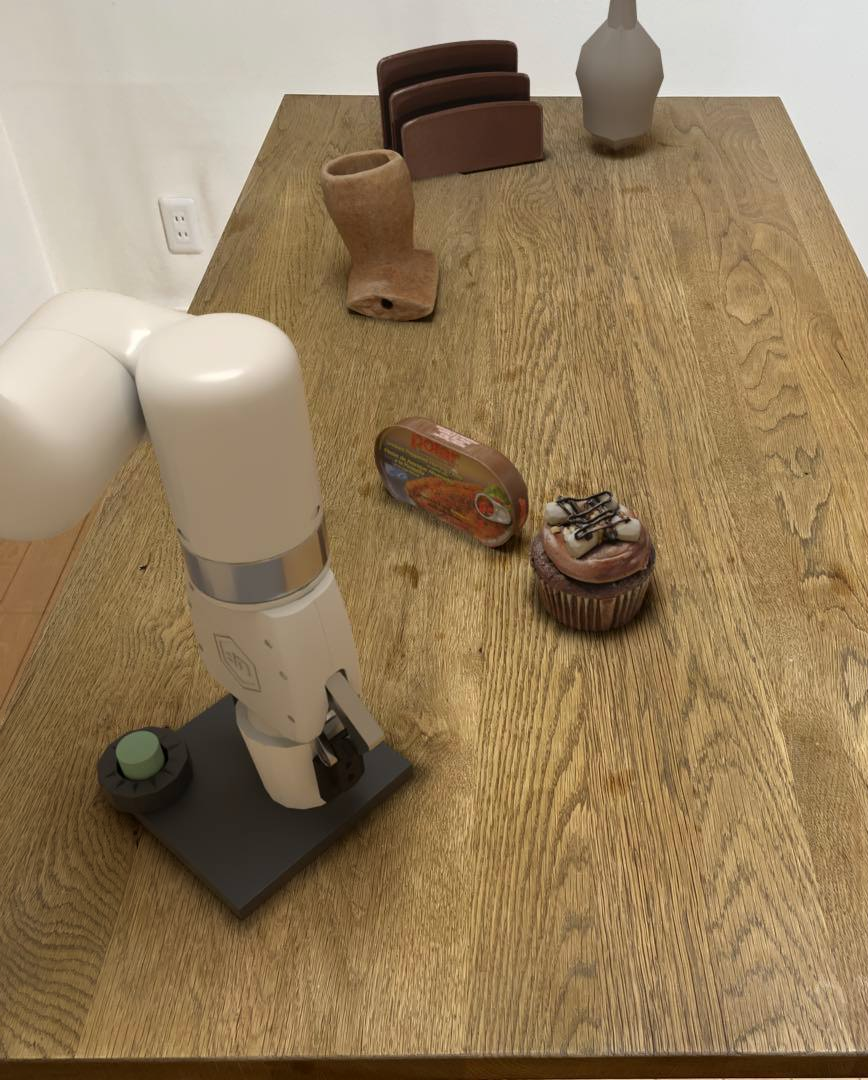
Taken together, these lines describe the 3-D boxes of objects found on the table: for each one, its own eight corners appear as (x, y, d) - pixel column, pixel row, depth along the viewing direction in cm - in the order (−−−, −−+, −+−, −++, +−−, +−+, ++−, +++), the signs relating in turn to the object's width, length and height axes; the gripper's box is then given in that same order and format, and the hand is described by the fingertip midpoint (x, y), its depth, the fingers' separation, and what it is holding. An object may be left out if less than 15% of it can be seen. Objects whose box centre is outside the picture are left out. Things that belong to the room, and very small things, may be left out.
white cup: (331, 830, 68) (316, 759, 64) (233, 800, 70) (212, 729, 66) (378, 746, 73) (368, 675, 69) (286, 720, 75) (270, 649, 70)
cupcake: (678, 613, 85) (689, 512, 79) (573, 662, 81) (576, 561, 75) (607, 543, 91) (612, 445, 85) (506, 586, 87) (503, 486, 81)
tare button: (114, 765, 70) (107, 748, 69) (149, 741, 72) (143, 724, 71) (137, 788, 69) (131, 770, 68) (172, 762, 71) (166, 745, 69)
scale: (94, 797, 72) (79, 763, 70) (273, 670, 81) (265, 637, 78) (233, 934, 65) (222, 902, 63) (414, 779, 73) (410, 746, 71)
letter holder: (383, 157, 152) (373, 50, 143) (517, 135, 158) (515, 31, 149) (405, 184, 145) (396, 74, 136) (544, 161, 151) (544, 53, 142)
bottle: (638, 172, 148) (654, -78, 129) (562, 158, 152) (566, -88, 132) (668, 143, 156) (687, -98, 136) (594, 130, 160) (602, -106, 140)
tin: (376, 494, 96) (366, 413, 91) (400, 476, 98) (392, 396, 93) (511, 564, 89) (510, 482, 84) (535, 544, 91) (535, 462, 86)
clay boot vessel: (342, 261, 129) (326, 133, 119) (444, 262, 129) (436, 134, 119) (322, 328, 118) (302, 192, 108) (434, 328, 118) (424, 193, 108)
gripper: (102, 508, 61) (172, 718, 73) (308, 662, 52) (350, 872, 64) (215, 447, 65) (264, 655, 77) (422, 580, 57) (442, 791, 68)
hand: (302, 752), depth 70 cm, fingers closed on white cup, 6 cm apart
